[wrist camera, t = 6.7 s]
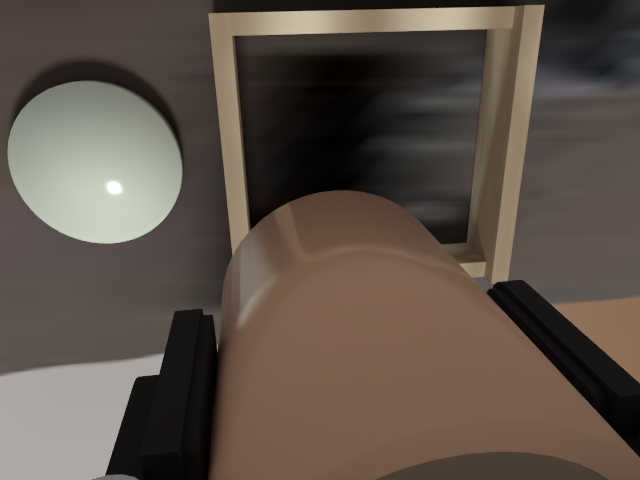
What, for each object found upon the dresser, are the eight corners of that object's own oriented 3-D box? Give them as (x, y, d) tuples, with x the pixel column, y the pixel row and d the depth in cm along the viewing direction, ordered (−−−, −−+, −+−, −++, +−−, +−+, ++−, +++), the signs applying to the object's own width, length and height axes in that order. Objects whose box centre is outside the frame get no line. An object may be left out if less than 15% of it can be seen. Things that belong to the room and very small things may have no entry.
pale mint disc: (172, 77, 27) (169, 78, 26) (192, 231, 31) (190, 238, 30) (-4, 83, 26) (-13, 85, 25) (37, 241, 30) (31, 248, 29)
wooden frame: (506, 8, 28) (544, 4, 24) (479, 255, 34) (507, 282, 30) (213, 15, 26) (206, 12, 23) (238, 273, 32) (236, 304, 28)
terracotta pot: (452, 183, 13) (1484, 928, 2) (436, 377, 15) (893, 1194, 4) (210, 198, 12) (-38, 1432, 1) (232, 400, 14) (204, 1439, 4)
